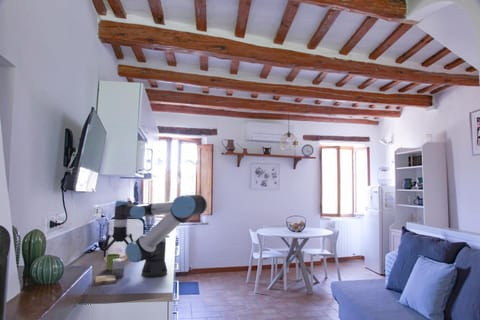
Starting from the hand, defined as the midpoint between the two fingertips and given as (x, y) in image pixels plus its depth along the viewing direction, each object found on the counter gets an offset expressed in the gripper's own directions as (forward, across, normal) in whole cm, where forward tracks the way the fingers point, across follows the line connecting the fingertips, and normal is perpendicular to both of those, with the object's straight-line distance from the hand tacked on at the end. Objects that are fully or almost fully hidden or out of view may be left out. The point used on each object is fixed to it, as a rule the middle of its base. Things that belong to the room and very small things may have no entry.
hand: (118, 261), depth 194 cm
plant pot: (+8, +3, -14) cm, 16 cm away
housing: (+8, 0, 0) cm, 8 cm away
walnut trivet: (+8, +7, +10) cm, 15 cm away
